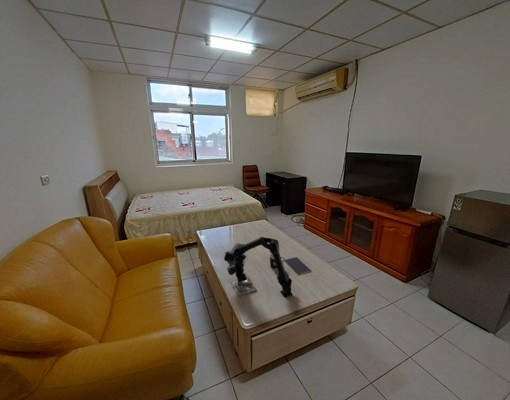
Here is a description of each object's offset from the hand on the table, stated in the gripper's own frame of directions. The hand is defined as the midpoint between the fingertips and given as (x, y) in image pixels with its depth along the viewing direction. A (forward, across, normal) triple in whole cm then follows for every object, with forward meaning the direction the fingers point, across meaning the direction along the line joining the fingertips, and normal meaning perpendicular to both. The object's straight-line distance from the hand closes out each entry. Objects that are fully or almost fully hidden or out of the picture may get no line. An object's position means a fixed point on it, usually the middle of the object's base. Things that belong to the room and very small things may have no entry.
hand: (239, 280), depth 157 cm
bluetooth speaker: (+4, -33, +5) cm, 34 cm away
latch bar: (+1, +3, +3) cm, 4 cm away
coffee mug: (+3, -11, +34) cm, 36 cm away
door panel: (+2, +4, +2) cm, 5 cm away
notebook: (+4, -7, +51) cm, 52 cm away
